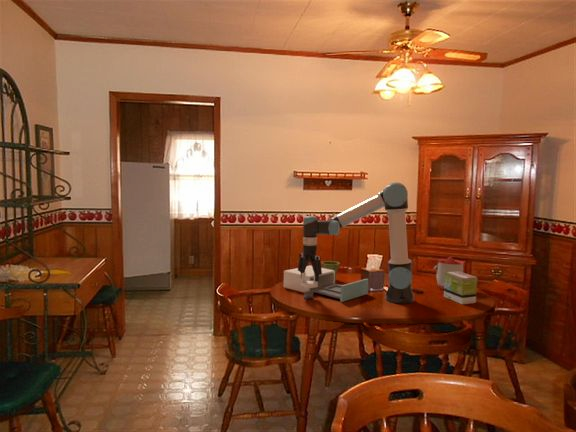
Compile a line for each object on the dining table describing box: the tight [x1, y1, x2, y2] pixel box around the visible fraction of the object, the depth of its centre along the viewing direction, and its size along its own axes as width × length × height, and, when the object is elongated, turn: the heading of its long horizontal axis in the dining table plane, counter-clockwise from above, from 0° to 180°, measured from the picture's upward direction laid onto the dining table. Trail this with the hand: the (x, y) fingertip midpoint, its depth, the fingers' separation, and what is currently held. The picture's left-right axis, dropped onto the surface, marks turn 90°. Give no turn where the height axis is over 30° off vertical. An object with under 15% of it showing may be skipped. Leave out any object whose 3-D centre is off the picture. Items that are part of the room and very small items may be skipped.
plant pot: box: [320, 260, 341, 280], centre depth 290 cm, size 12×12×11 cm
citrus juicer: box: [433, 256, 465, 291], centre depth 273 cm, size 16×17×20 cm
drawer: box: [310, 278, 369, 303], centre depth 255 cm, size 24×24×9 cm
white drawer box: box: [283, 265, 336, 294], centre depth 270 cm, size 20×24×10 cm
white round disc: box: [302, 281, 314, 288], centre depth 245 cm, size 8×8×2 cm
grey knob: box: [303, 291, 314, 301], centre depth 246 cm, size 5×5×4 cm
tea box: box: [443, 271, 478, 305], centre depth 248 cm, size 15×10×15 cm
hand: (309, 285), depth 245 cm, fingers closed on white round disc, 8 cm apart
